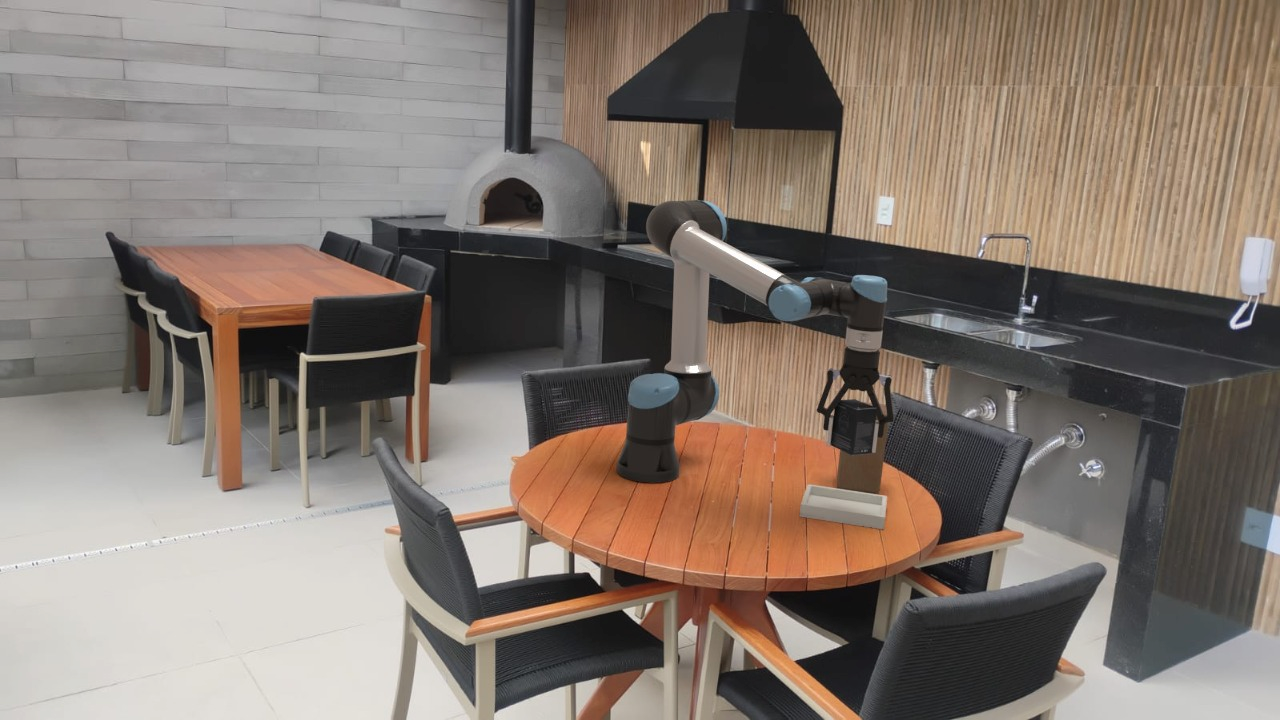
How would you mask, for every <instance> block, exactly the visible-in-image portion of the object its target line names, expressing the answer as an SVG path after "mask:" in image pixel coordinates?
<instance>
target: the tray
mask: <svg viewBox="0 0 1280 720" xmlns="http://www.w3.org/2000/svg"><path fill="white" fill-rule="evenodd" d="M887 502H888V496H887V495H882V494H870V493H864V492H857V491H850V490H844V489H838V487H837V488H835V487H829V486H823V485H818V484H817V485H816V484H808V483H807V485H806V488H805V491H804V494H803V497H802V500H801V503H800V506H799V507H800V509H799V517H802V518H808V519H814V520H815V519H816V520H819V521H826V522H827V521H828V522H833V523H841V524H846V525H853V526H858V527H859V526H860V527H863V526H864V528H870V527H872V528H871V529H876V528H877V529H878V530H882V529H883V530H884V529H885V521H886V512H887V511H886V510H887ZM883 530H882V531H883Z"/></svg>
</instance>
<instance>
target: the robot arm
mask: <svg viewBox="0 0 1280 720" xmlns="http://www.w3.org/2000/svg"><path fill="white" fill-rule="evenodd" d="M645 223H646V225H645V229H646V235H647V238H648V239H649V242H650V244H652V245H653V246H654V247H655V248H656V249H657V250H658V251H661V252H662V253H663V254H665V255H667V256H668V258H669V259H670V260H671V261H672V262H673V264H674V267H673V290H672V291H673V298H672V319H671V320H672V321H671V322H672V324H671V325H672V326H671V327H672V328H671V353H670V354H671V355H670V360H669V361H668V363H666V365H665V366H664V373H661V372H656V373H652V374H651V373H646V374H642V375H639V376H636V377H635V378H634V379H632V381H630V384H629V390H628V394H627V414H626V415H627V417H626V435H625V441H624V444H623V446H622V449H621V451H620V454H619V457H618V459H617V463H616V473H617V474H618V475H619V476H620V477H622V478H624V479H627V480H630V481H631V480H632V481H633V482H634V481H635V482H640V483H648V484H649V483H651V484H652V483H655V484H657V483H659V484H660V483H667V482H670V481H674V480H676V479H678V478H679V476H680V470H681V469H680V468H681V466H680V465H681V464H680V461H679V457H678V453H677V448H676V445H675V439H676V426H679V425H683V424H685V423H686V424H687V423H689V422H692V421H699V420H700V419H702V418H704V417H706V416H709V415H710V414H711V413H712V412H714V410H715V408H716V407H717V405H718V402H719V400H720V387H719V383H718V382H717V381H716V379H715V377H714V375H712V372H713V371H712V366H710V364H708V362H707V338H708V314H709V312H708V311H709V295H710V294H709V293H710V291H709V290H710V275H712V276H714V277H715V278H718V279H719V280H721V281H723V282H724V283H726V284H728V285H730V286H731V287H733V288H735V289H737V290H739V291H740V292H742V293H744V294H746V295H748V296H749V297H751V298H752V299H755V300H757V301H758V302H760V303H762V304H764V305H765V306H767V307H768V309H769V311H770V312H771V315H773V317H775V319H778V320H779V321H782V322H796V321H801V320H804V319H807V318H808V319H809V318H813V317H819V316H822V315H828V316H829V315H830V316H835V317H836V316H837V317H841V318H846V319H847V324H846V333H845V342H844V344H845V345H846V346H845V348H844V349H843V351H844V353H843V361H842V366H841V368H840V369H834V368H831V367H830V368H829V369H828V370H827V373H826V374H827V376H826V380H827V381H826V384H825V386H824V388H823V390H822V391H823V392H822V394H821V396H820V399H819V403H818V404H817V408H816V413H818V414H821V415H823V417H824V418H823V426H822V427H823V431H827V438H826V439H827V440H826V447H831V438H832V428H833V419H834V414H832V413H834V409H835V407H836V406H837V405H838V403H839V402H840V400H843V397H844V396H845V394H846V393H848V390H849V389H850V391H860V392H866V393H867V396H868V397H869V400H870V403H872V406H873V407H875V408H877V411H876V416H877V418H878V421H876V422H875V430H874V438H873V447H872V452H873V453H875V452H876V444H877V437H880V438H882V437H883V432H884V425H885V423H887V422H888V423H893V422H894V418H895V417H894V416H895V415H894V407H893V399H892V392H891V384H892V380H893V378H892V375H890V374H889V375H884V374H880V371H879V365H880V358H881V357H880V356H881V352H880V350H879V349H881V348H882V340H883V330H884V322H885V312H886V305H887V302H888V297H887V296H888V281H887V279H885V278H883V277H881V276H876V275H866V274H856V275H853V277H852V279H851V282H845V281H839V280H832V279H827V278H823V277H810V276H809V277H805V278H804V279H803V280H801V281H797V280H795V279H794V278H791V277H789V276H787V275H786V274H784V273H782V272H780V271H779V270H777V269H776V268H774V267H771V266H769V265H767V264H765V263H764V262H762V261H761V260H758V259H757V258H754V257H753V256H751V255H749V254H747V253H745V252H743V251H741V249H738V248H736V247H734V246H732V245H730V244H728V243H726V242H724V240H725V238H726V236H727V232H728V231H727V230H728V228H727V227H728V226H727V220H726V218H725V215H724V213H723V212H722V210H720V207H719V206H717V205H716V204H715V203H713V202H711V201H706V200H699V199H693V200H691V199H690V200H668V201H664V202H662V203H659V204H657V205H656V206H655V207H654V208H653V209H652V210H651V211H650V212H649V214H648V217H647V219H646V222H645ZM839 376H840V378H841V379H842V381H843V384H842V386H841V388H840V389H839V390H838V392H837V393H836V395H835V397H834V398H833V399H832V400H831V402H830V404H829V405H828V407H827V408H826V407H825V404H826V403H827V399H828V398H829V397H828V396H829V393H830V392H831V388H832V385H833V383H834V381H836V379H838V377H839ZM878 381H880V384H881V386H883V392H884V393H883V394H884V400H885V401H884V402H885V405H886V409H887V415H886V416H884V414H883V412H882V409H881V407H880V404H881V403H880V402H879V399H878V398H877V397H878V396H877V395H876V391H875V389H874V385H875V384H876V383H877V382H878Z"/></svg>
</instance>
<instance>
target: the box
mask: <svg viewBox="0 0 1280 720" xmlns="http://www.w3.org/2000/svg"><path fill="white" fill-rule="evenodd" d="M863 402H864V401H861V400H858V399H856V398H852V399H841V400H840V402H839V403H838V405H837V406H836V407H835V409H834V410H833V415H834V419H833V428H832V438H831V445H830V447H831V446H832V447H834V448H835V449H837V450H839V451H840V450H842V451H844V452H846V453H848V454H850V455H852V456H853V455H865V454H871V453H872V447H873V438H874V430H875V422H876V411H877V408H875V407H873V406H871V405H868V404H866V403H863Z"/></svg>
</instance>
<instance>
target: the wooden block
mask: <svg viewBox="0 0 1280 720" xmlns="http://www.w3.org/2000/svg"><path fill="white" fill-rule="evenodd" d="M862 402H863V403H866V404H868V405H871V406H872V403H871V402H867V401H865V402H864V401H862ZM879 404H880V407H881V409H882V412H883V414H884V416H886V415H887V409H886V404H884V403H879ZM876 421H878V418H877V416H876ZM888 428H889V422H887V423H885V425H884V432H883V437H882V438H880V437H877V444H876V452H875V453H873V452H872V453H871V454H865V455H853V456H852V455H850V454H848V453H846V452H844V451H842V450H840V449H839V457H838V465H837V474H836V487H837V489H844V490H850V491H857V492H864V493H871V494H877V495H879V493H880V492H881V486H882V485H881V484H882V483H881V482H882V476H883V467H884V460H885V459H884V458H885V451H886V444H887V435H888Z"/></svg>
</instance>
